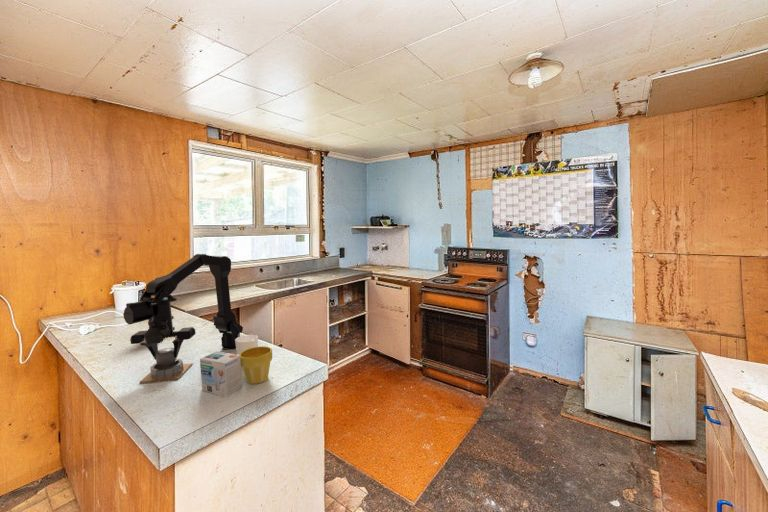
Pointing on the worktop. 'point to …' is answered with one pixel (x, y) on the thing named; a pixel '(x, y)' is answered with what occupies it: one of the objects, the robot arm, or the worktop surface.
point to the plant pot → (256, 363)
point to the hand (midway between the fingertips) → (166, 358)
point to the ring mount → (166, 372)
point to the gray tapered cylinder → (165, 356)
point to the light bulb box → (221, 373)
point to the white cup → (246, 342)
